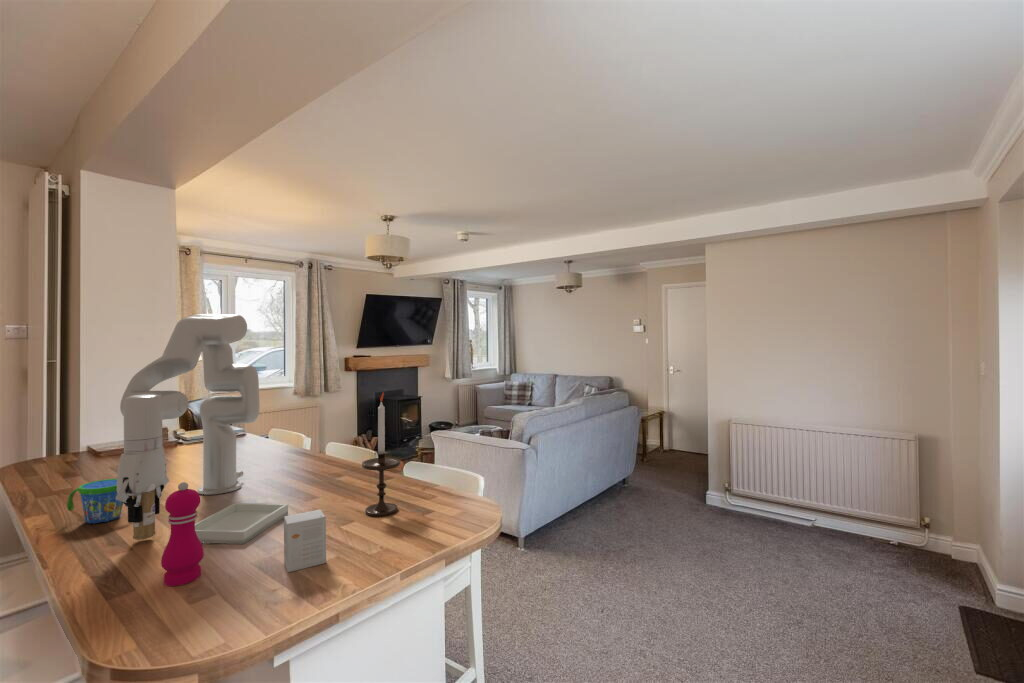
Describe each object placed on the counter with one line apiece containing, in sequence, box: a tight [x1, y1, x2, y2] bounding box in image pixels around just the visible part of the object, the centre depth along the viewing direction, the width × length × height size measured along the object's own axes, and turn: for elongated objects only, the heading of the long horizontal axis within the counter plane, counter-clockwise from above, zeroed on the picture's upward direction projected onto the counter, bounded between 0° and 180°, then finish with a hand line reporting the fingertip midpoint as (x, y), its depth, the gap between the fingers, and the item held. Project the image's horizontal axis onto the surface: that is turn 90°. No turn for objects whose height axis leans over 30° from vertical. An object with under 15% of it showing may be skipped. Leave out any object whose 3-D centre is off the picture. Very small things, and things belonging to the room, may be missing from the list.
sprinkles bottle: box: [132, 484, 156, 541], centre depth 116 cm, size 5×5×14 cm
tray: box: [195, 502, 289, 545], centre depth 124 cm, size 20×16×3 cm
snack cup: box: [66, 478, 124, 525], centre depth 130 cm, size 16×10×10 cm
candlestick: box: [361, 391, 401, 518], centre depth 136 cm, size 11×11×35 cm
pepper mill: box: [160, 481, 205, 587], centre depth 97 cm, size 7×7×20 cm
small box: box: [283, 509, 327, 573], centre depth 103 cm, size 8×6×10 cm
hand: (144, 517), depth 116 cm, fingers closed on sprinkles bottle, 4 cm apart
